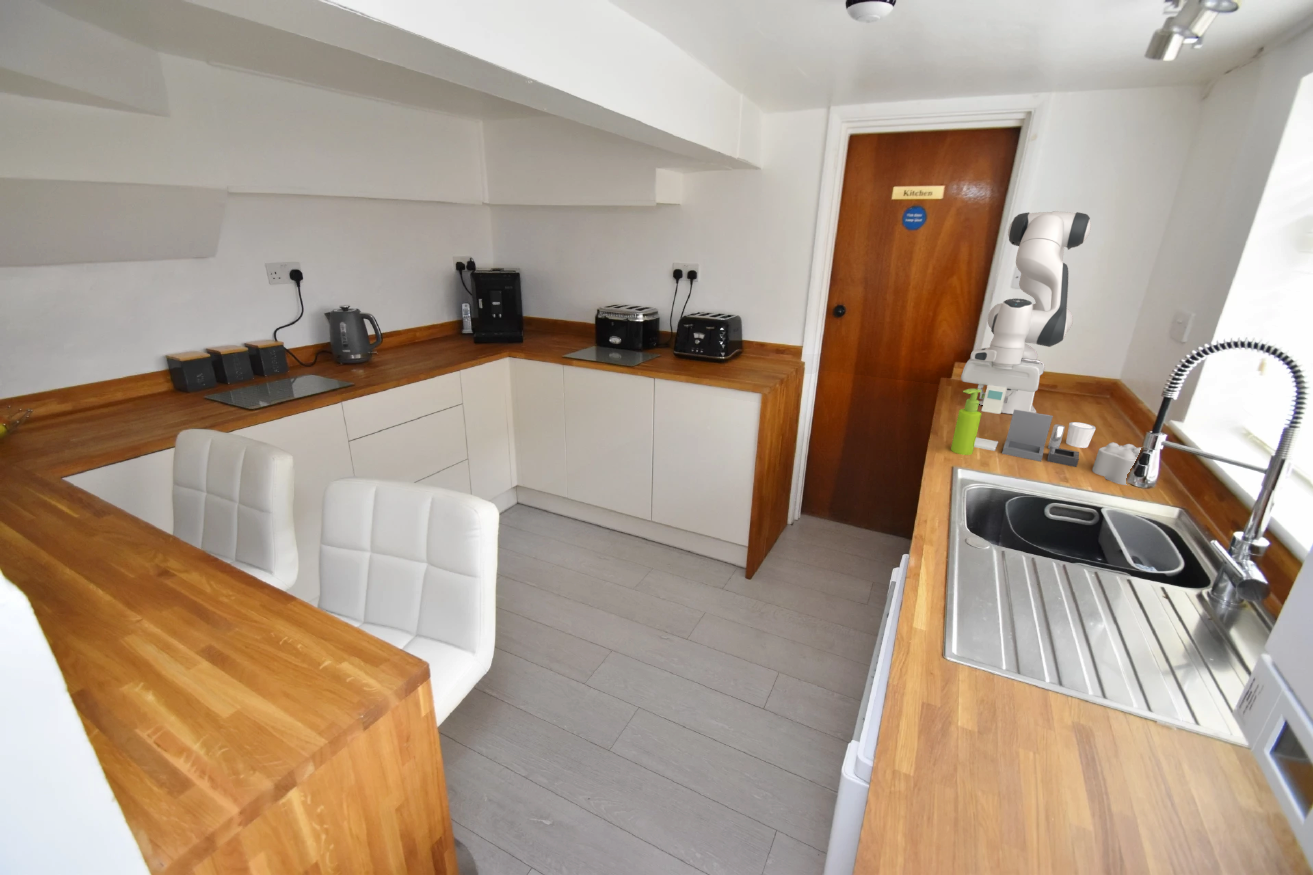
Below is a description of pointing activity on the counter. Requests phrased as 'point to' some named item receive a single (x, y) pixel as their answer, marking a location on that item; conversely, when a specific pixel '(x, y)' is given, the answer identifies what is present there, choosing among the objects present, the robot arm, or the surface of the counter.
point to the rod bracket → (1063, 456)
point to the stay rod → (1056, 436)
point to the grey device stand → (1027, 435)
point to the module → (994, 399)
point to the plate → (985, 444)
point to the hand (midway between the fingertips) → (994, 400)
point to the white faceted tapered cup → (1079, 434)
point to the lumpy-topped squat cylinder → (1115, 461)
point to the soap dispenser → (967, 425)
